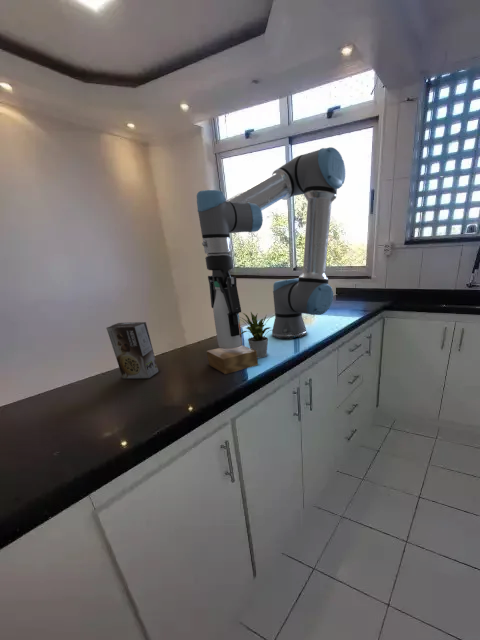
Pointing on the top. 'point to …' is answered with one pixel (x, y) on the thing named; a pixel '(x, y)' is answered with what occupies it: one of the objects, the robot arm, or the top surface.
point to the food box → (133, 349)
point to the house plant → (257, 335)
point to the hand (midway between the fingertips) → (228, 333)
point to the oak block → (232, 359)
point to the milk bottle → (224, 322)
